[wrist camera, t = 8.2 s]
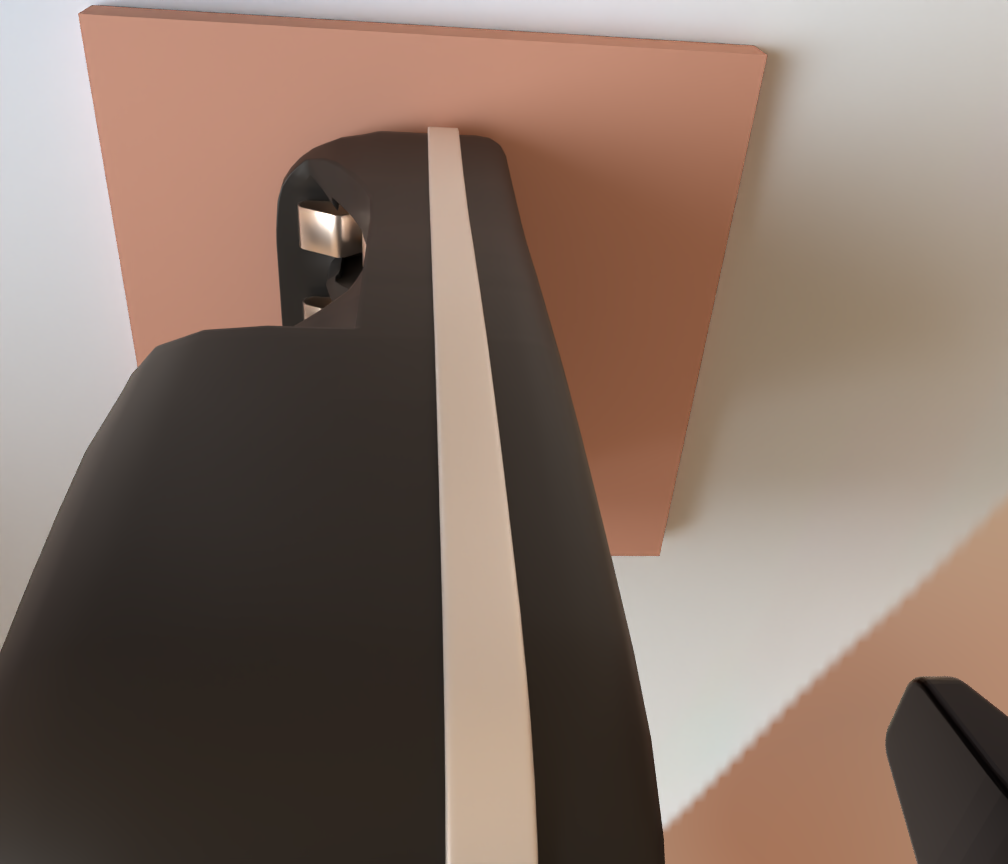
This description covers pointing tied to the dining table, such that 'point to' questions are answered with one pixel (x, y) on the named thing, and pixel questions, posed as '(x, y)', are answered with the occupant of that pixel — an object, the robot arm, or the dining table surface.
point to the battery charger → (339, 567)
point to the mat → (474, 111)
